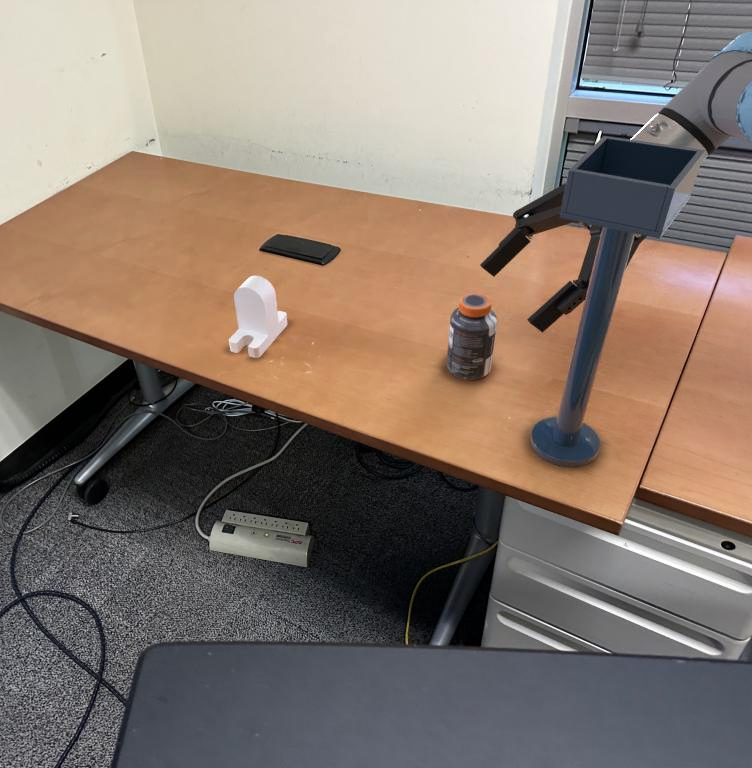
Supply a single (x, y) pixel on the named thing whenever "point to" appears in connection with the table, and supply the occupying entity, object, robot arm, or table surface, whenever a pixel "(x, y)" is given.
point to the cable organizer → (256, 317)
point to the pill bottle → (471, 337)
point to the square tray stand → (610, 263)
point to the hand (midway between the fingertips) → (509, 297)
